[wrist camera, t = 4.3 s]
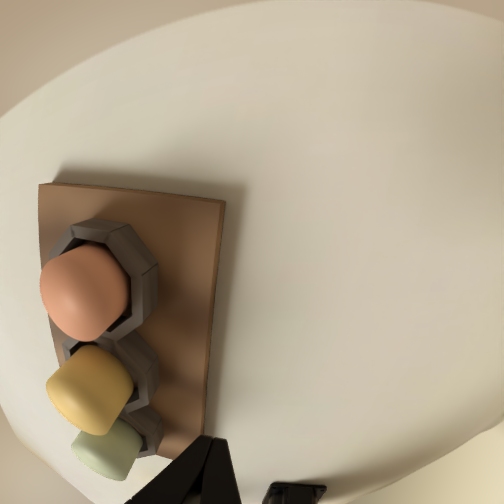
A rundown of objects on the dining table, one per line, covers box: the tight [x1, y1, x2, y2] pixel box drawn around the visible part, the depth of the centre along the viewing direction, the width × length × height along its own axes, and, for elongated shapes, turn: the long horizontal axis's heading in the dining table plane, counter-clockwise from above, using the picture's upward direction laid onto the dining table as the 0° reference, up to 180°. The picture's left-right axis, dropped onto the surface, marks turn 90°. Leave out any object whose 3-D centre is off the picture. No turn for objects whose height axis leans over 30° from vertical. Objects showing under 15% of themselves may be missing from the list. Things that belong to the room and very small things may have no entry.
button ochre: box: [46, 345, 134, 435], centre depth 16 cm, size 5×5×4 cm
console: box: [38, 183, 226, 460], centre depth 20 cm, size 25×14×4 cm, turn 172°
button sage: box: [71, 417, 143, 481], centre depth 18 cm, size 5×5×4 cm
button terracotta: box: [40, 241, 132, 341], centre depth 16 cm, size 5×5×4 cm
